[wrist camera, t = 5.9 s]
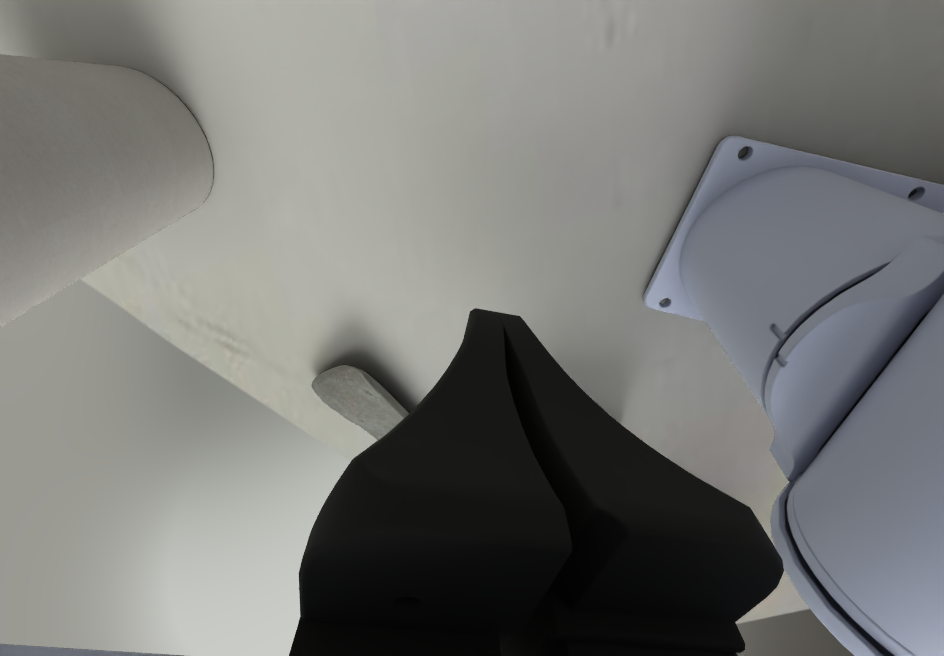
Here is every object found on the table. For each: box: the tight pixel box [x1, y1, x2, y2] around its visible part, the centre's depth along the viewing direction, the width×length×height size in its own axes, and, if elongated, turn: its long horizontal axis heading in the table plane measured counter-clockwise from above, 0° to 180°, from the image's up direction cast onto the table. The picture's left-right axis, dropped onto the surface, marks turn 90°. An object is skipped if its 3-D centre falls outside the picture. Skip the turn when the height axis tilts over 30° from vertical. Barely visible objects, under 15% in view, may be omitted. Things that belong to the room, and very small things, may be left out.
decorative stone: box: [312, 365, 409, 440], centre depth 27 cm, size 11×1×5 cm
